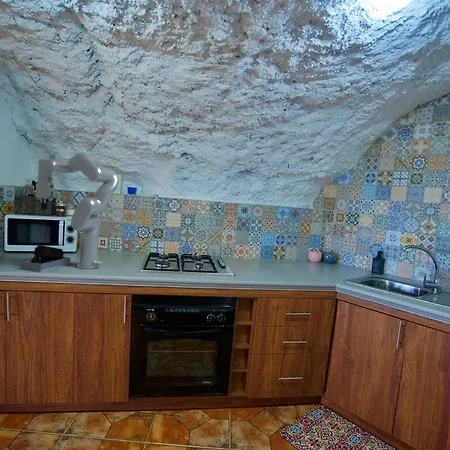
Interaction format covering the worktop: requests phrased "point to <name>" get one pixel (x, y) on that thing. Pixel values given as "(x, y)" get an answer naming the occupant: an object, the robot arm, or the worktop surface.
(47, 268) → the holder tray
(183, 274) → the worktop surface
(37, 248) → the black irregular piece
